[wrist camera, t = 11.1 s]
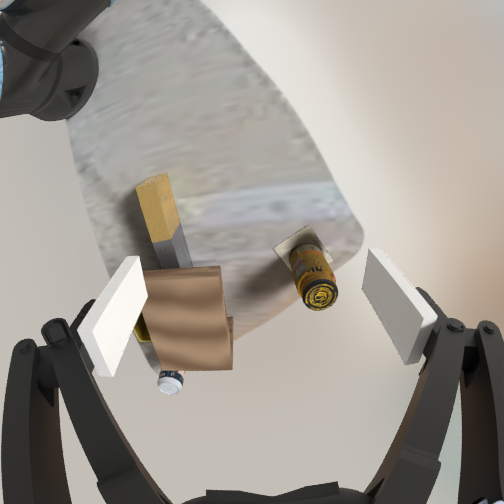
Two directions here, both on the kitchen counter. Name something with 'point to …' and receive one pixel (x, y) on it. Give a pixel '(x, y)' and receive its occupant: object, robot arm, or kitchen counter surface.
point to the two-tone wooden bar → (163, 222)
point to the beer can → (170, 381)
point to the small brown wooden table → (188, 319)
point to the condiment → (309, 268)
